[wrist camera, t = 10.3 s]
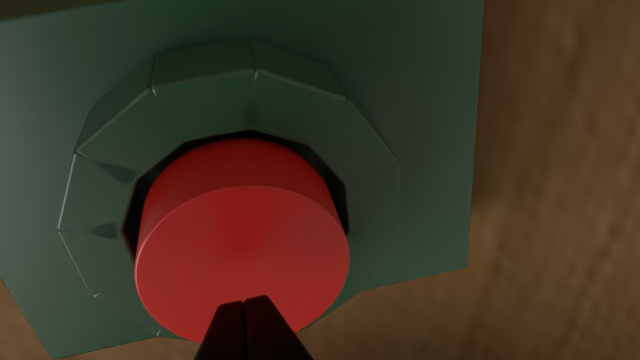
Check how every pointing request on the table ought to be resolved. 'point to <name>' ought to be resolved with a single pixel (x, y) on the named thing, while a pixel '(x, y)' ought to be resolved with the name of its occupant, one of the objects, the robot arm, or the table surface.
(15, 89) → the button box
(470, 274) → the table surface
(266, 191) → the button
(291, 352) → the robot arm
